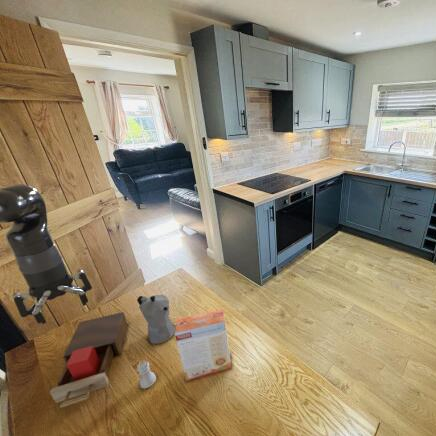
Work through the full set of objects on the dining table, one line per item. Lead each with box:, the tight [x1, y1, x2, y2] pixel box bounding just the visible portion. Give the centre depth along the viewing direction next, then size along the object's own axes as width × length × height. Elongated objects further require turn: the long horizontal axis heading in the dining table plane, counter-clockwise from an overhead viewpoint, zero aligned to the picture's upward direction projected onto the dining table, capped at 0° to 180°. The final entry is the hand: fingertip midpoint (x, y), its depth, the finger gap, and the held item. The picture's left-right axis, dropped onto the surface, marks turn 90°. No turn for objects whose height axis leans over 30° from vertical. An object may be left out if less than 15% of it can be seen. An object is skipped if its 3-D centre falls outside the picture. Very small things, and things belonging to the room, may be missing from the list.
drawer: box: [49, 345, 115, 409], centre depth 73 cm, size 18×12×5 cm
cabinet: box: [62, 311, 129, 364], centre depth 84 cm, size 15×14×7 cm
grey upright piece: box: [136, 294, 176, 345], centre depth 87 cm, size 15×9×18 cm, turn 67°
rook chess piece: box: [136, 360, 157, 389], centre depth 73 cm, size 4×4×8 cm
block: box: [66, 346, 101, 381], centre depth 73 cm, size 5×5×8 cm
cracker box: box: [174, 308, 232, 382], centre depth 75 cm, size 14×6×21 cm, turn 108°
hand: (65, 312), depth 66 cm, fingers open, 8 cm apart
